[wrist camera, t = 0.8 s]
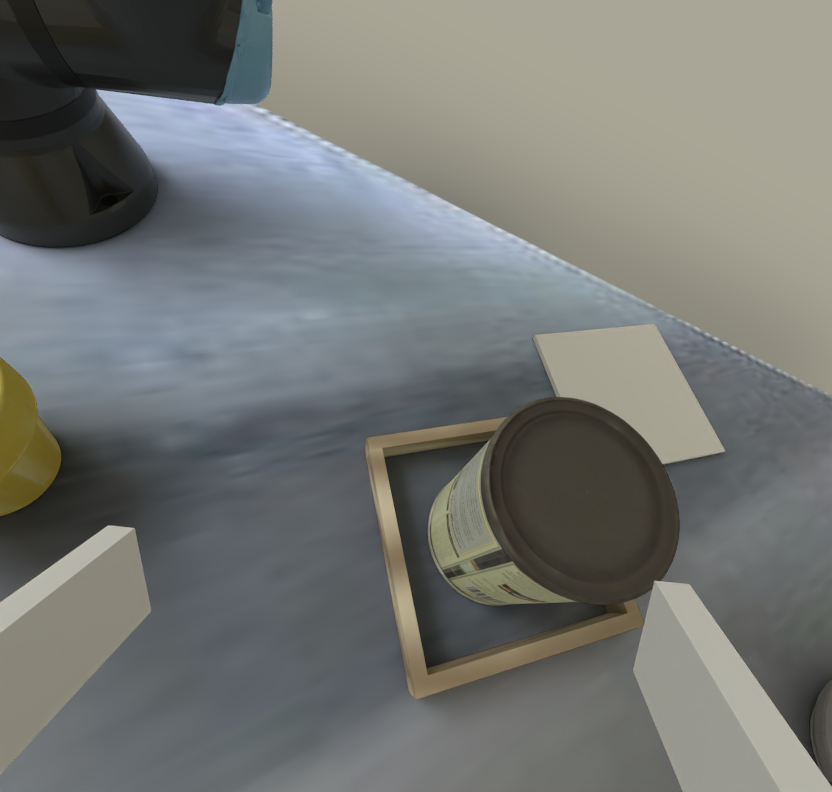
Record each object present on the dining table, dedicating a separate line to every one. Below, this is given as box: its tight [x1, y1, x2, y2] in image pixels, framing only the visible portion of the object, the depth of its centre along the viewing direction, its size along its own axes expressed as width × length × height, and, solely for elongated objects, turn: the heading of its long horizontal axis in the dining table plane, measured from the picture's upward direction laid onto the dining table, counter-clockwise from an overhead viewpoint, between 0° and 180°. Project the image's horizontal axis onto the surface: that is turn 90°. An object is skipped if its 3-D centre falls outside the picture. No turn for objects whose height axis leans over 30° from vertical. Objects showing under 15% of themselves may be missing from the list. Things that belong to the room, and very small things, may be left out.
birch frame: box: [365, 417, 644, 699], centre depth 32 cm, size 17×17×2 cm
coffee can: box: [428, 397, 680, 606], centre depth 27 cm, size 10×10×14 cm
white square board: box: [533, 324, 725, 465], centre depth 41 cm, size 15×15×1 cm
